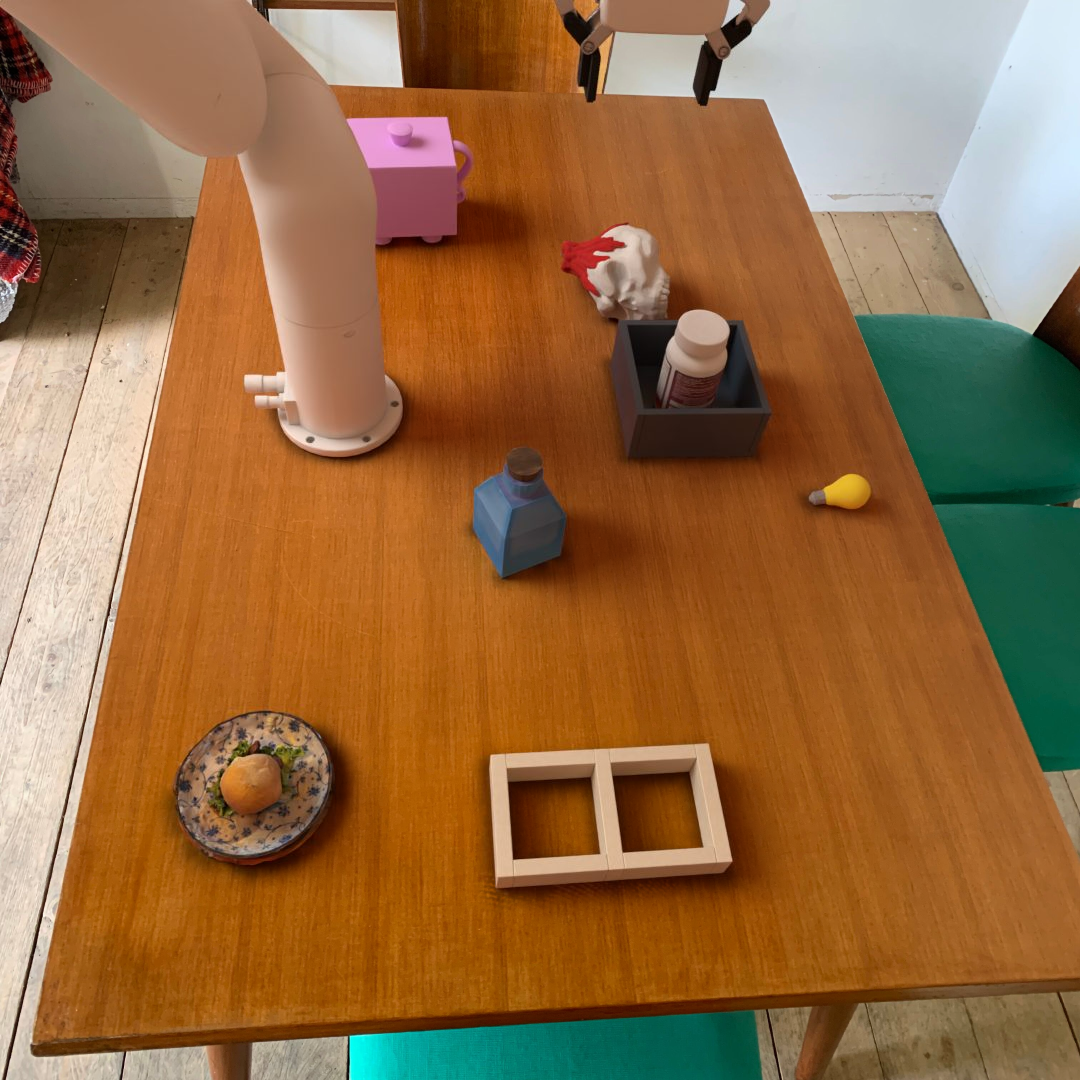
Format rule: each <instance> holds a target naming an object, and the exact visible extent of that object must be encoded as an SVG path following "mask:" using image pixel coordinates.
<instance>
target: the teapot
mask: <svg viewBox="0 0 1080 1080" xmlns="http://www.w3.org/2000/svg"><path fill="white" fill-rule="evenodd" d="M346 120H347V122H348V124H349V126H350V128H351V129H352V131H353V133H354V135H355V138H356V140H357V142H358V144H359V146H360V149H361V151H362V153H363V155H364V158H365V160H366V163H367V165H368V168H369V171H370V174H371V177H372V180H373V184H374V188H375V192H376V199H377V227H376V240H375V245H380V246H383V245H388V244H389V243H390V242H391V241H392V240H393V238H406V237H421V239H422V240H423V241H424V242H426V243H428V244H429V243H430V244H434V243H439V242H440V241H441V240H442V238H443V236H457V235H458V204H460V203H462V202H464V200H465V198H466V196H467V191H466V188H465V186H463V185H462V183H463V182H464V181H465V179H466V178H467V177H468V176H469V174H470V173H471V171H472V169H473V167H474V161H475V160H474V155H473V152H472V150H471V149H470V148H469V146H468V145H467V144H465V143H463V142H462V141H459V140H454V139H452V133H451V128H450V123H449V118H448V117H447V116H427V117H426V116H418V117H417V116H413V117H412V116H411V117H410V116H409V117H408V116H406V117H402V116H401V117H355V118H354V117H353V118H351V117H350V118H346ZM455 152H457V153H459V154H462V155H463V156H464V157H465V161H464V163H463V164H462V166H461V168H460V169H459V170H458V164H457V158H456V153H455ZM458 192H459V193H458Z"/></svg>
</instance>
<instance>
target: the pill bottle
mask: <svg viewBox="0 0 1080 1080" xmlns="http://www.w3.org/2000/svg"><path fill="white" fill-rule="evenodd" d="M678 320H679V321H678V324H677V328H676V331H675V335H674V336H673V337H672V338H671V340H670V341H669V343H668V346H667V348H666V353H665V357H664V361H663V365H662V369H661V373H660V377H659V381H658V385H657V389H656V393H655V398H654V405H655V408H656V409H679V408H712V404H713V401H714V398H715V395H716V392H717V389H718V386H719V383H720V380H721V377H722V374H723V370H724V367H725V364H726V361H727V350H726V345H727V340H728V337H729V333H730V330H729V326H728V324H727V322H726V321H725V320H726V319H724V317H722V316H720V315H719V314H718V313H716V312H713V311H710V310H706V309H693V310H689V311H686V312H684V313H683V314H682V315H681V316H680V318H679V319H678Z"/></svg>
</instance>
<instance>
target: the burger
mask: <svg viewBox="0 0 1080 1080" xmlns="http://www.w3.org/2000/svg"><path fill="white" fill-rule="evenodd" d="M335 786H336V775H335V765H334V762H333V759H332V756H331V753H330V751H329V750H328V748H327V746H326V744H325V743H324V740H323V738H322V737H321V735H320V733H318V732H317V731H316V730H315V729H314V727H313V726H312V725H311V724H310V723H308V722H307V721H306V720H305V719H303V718H301V717H300V716H297V715H294V714H292V713H288V712H281V711H275V710H267V709H266V710H256V711H250V712H245V713H242V714H238V715H235V716H233V717H231V718H227V719H225V720H223V721H221V722H219V723H217V724H216V725H215V726H213V727H212V729H210V730H209V731H208V733H206V734H205V735H204V736H203V737H202V738H201V739H200V740H199V741H198V742H197V743H196V744H195V745H193V746H192V748H190V749H189V750H188V753H187V755H186V756H185V758H184V759H183V760H182V762H180V763H179V765H178V767H177V770H176V772H175V775H174V778H173V784H172V791H173V794H174V797H175V805H174V809H175V812H176V813H177V815H178V818H177V820H178V823H179V827H180V829H181V831H182V832H183V833H184V835H185V836H186V837H187V839H188V840H189V841H190V842H191V844H192V845H193V846H194V848H196V849H197V850H198V851H200V852H202V853H203V854H204V855H206V856H207V857H211V858H213V859H216V860H218V861H219V862H227V863H232V864H234V865H237V866H255V865H258V864H262V863H263V862H272V861H275V860H277V859H280V858H283V857H286V856H287V855H288V854H290V853H292V852H293V851H295V850H296V849H298V848H300V847H301V846H302V845H303V844H305V842H306V841H308V840H309V839H310V838H311V837H312V836H313V835H314V834H315V832H316V831H317V829H319V827H320V826H321V825H322V823H323V822H324V819H325V818H326V815H328V812H329V810H330V807H331V804H332V801H333V798H334V794H335Z"/></svg>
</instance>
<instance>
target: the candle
mask: <svg viewBox="0 0 1080 1080" xmlns="http://www.w3.org/2000/svg"><path fill="white" fill-rule="evenodd" d="M560 252H561V254H560V257H563V259H562V261H561V265H560V270H561V271H562V272H563V273H565V274H570V275H574V276H575V277H576V278H578V280H579V281H580V282H581V284H582V286H583V288H584V289H585V290H586V291H588V293H589V295H590V296H591V297H592V299H593V300H594V301H595V303H596V308H597V310H598V312H599V314H600V315H601V316H602V317H603V318H605V319H607V318H609V319H610V318H612V319H613V318H614V319H617V320H668V318H669V316H668V313H667V310H668V305H669V304H668V303H669V299H668V297H669V295H670V294H671V291H670V283H671V276H670V275H669V274H667V273H666V271H665V269H664V267H663V266H662V264H661V263H660V259H659V258H660V256H659V255H660V245H659V242H658V241H657V239H656V238H655V236H654V235H652V234H651V232H649V231H647V230H646V229H644V228H638V227H635V226H632V225H630V224H629V222H622V223H616V224H614V225H612V226H609V227H607V228H606V229H605V230H603V231H602V232H601V233H600V234H599V235H597V236H595V237H593V238H591V239H589V240H586V241H581V242H578V241H577V242H576V241H571V240H567V239H566V240H564V241H563V243H562V245H561V248H560Z"/></svg>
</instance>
